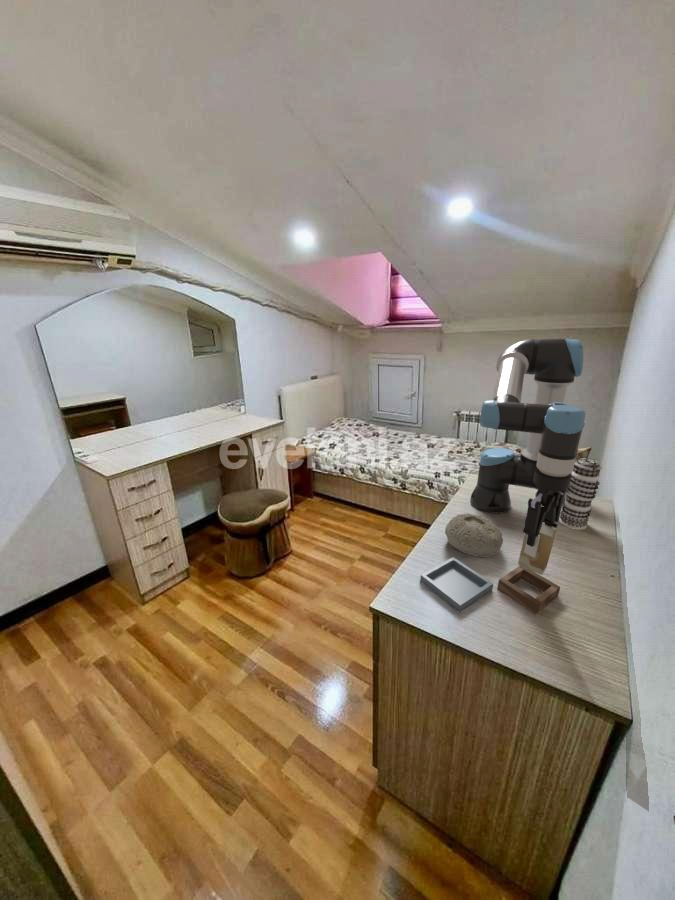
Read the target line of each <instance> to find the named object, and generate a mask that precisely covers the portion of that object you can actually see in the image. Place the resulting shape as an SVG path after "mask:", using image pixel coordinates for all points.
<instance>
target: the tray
mask: <svg viewBox="0 0 675 900" xmlns="http://www.w3.org/2000/svg"><path fill="white" fill-rule="evenodd" d="M419 580H420V583H422V585H424V586H425V587H427V588H428V589H429V590H430V591H431V592H433V593H434V594H435V595H437V597H439V598H441V600H442V601H444V602H445V603H446V604H448V605H449V606H451V607H452V608H453V609H454V610H455V611H456V612H458V613H461V612H463V611H464V610H466V609H467V608H469V607H470V606H471V605H474V604H475V603H476V602H478V601H479V600H480V599H482V598H483V597H485V596H487V595H488V594H489V593H491V592H492V591H493V589H494V582H492V581H491V580H490V579H488V578H486V577H484V576H483V575H481V574H480V573H478V572H477V571H475V570H473V569H472V568H470V567H469V566H468V565H466V564H464V563H463V562H461V561H460V560H458V559H457V558H456V557H454V556H452V557H451V558H449V559H446V560H445V561H443V562H441V563H440V564H438V565H436V566H434V567H433V568H431V569H429V570H427V571H424V572H423V573H421V574H420V579H419Z"/></svg>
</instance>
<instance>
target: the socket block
mask: <svg viewBox="0 0 675 900" xmlns="http://www.w3.org/2000/svg"><path fill="white" fill-rule="evenodd" d="M521 580H522V581H524V583H527V584H528V585H530V586H532V587H534V588H535V589H538V590H539V591H541V592H542V593H541V594H539V595H537V597H534V596H533V595H531V594H529V593H527V592H526V591H525V590H523V589H521V588H520V587H518V586H516V585H515V584H516V583H518V582H520V581H521ZM496 590H497V591H499V592H500V593H502V594H504V595H505V596H506V597H508V598H510V599H511V600H512V601H513V602H515V603H516V604H518V605H520V606H521V607H523V608H524V609H526V610H527V611H529V612H530V613H532V614H533V615H535V616H537V615H538V614H539V613H540V612H542V611H543V609H545V608H546V607H548V606H549V605H550V604H552V603H553V601H555V600H556V599H557V598H558V597H559V593H560V590H561V586H560V585H558V584H556V583H554V582H552V581H551V580H549V579H548V578H546V577H544V576H543V575H540V574H538V573H536V572H533V571H531V570H529V569H527V568H524V567H522V566H520V565H518V566H517V567H516V568H514V569H512V570H511V571H509V572H508V573H506V574H505V575H504V576H501V577H500V578H499V579H498V583H497V588H496Z"/></svg>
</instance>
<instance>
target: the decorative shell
mask: <svg viewBox="0 0 675 900" xmlns="http://www.w3.org/2000/svg"><path fill="white" fill-rule="evenodd" d="M445 526H446V527H445V529H444V533H445V535H446V538H447V541H448V543H449V544H450V545H451V546H452V547H453V548H455V549H456V550H457V551H458V550H459V552H462V553H464V554H466V555H469V556H473V557H474V556H475V557H481V558H486V557H490V556H493V555H496V554H497V553H498V552H499V551H500V550H501V548H502V545H503V543H504V538H503V533H502V532H501V531H500V529H499V528H498V527H497V525H496V524H495V523H494V522H493V521H491V520H490V519H487V518H486V517H484V516H482V515H478V514H472V513H469V512H468V513H461V514H457V515H456V516H453V517H452V518H451V519H450V520H449V522H448V523H447V524H446V525H445Z"/></svg>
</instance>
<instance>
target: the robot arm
mask: <svg viewBox="0 0 675 900" xmlns="http://www.w3.org/2000/svg"><path fill="white" fill-rule="evenodd" d="M495 366H496V372H497V375H496V376H497V377H496V381H495V386H494V388H493V389H494V390H493V394H492V399H491V400H484V401H483V402H482V405H481V410H480V416H479V424H480V426H481V427H483V428H487V429H493V430H501V431H511V432H513V431H514V432H523V433H528V438H527V443H526V448H524V449H522V450H521V452H520V455H518V454H515V451H514V450H512V449H510V448H506V447H505V448H504V447H495V448H488V449H486V450H484V451H483V452H481V455H480V460H479V462H478V464H479V466H478V467H479V468H478V474H477V483H476V486H475V487H474V489H473V491H472V493H471V494H470V499H469V500H470V501H469V502H470V504H471V506H473V507H474V508H476V509H477V510H479V511H482V512H485V513H491V514H503V513H507V512H508V511H510V509H511V506H512V505H511V504H512V500H511V496H510V491H509V487H510V486H517V487H522V488H527V489H533V490H537V491H536V493H535V498H534V499H533V498H528V500H527V501H528V502H527V511H526V517H525V520H524V526H523V529H522V532H523V533H524V534H525V533H526V534H528V535H527V540H526V545H525V550H524V552H525V553H526V554H528V555H530V556H532V557H536V553H537V549H538V544H539V540H540V535H539V532H540V529H541V526H542V525H545V526H547V527H550V528H554V529H556V528H558V526H559V524H557V523H558V522H560V515H561V511H562V507H563V506H562V504H563V499H564V496H565V493H566V491H567V489H568V487H569V484H570V480H571V473H572V472H573V468H574V464H575V459H576V453H577V449H579V444H580V441H581V438H582V432H583V430H584V427H585V424H586V423H585V420H586V419H585V418H586V411H585V410H584V409H583V408H580V407H578V406H575V405H570V404H569V405H568V404H567V403H565V398H566V393H567V389H568V386H570V385H571V384H573V383H574V382H575V377H576V378H577V377H578V378H579V377H581V375H582V372H583V367H584V344H583V342H582V341H581V340H580V339H575V338H574V339H572V338H541V339H539V338H528V339H523V340H520V341H518V342H515V343H514V344H511V345H510V346H508V347H506V349H504V350H503V352H502V353H501V354H499V357H498V360H497V362H496V365H495ZM525 375H531V376H532V375H533V376H534V378H533V380H534V382H535V383H536V384H537V388H536V395H535V399H534V403H529V402H522V395H523V394H522V393H523V388H524V387H523V386H524V378H525Z"/></svg>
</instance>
